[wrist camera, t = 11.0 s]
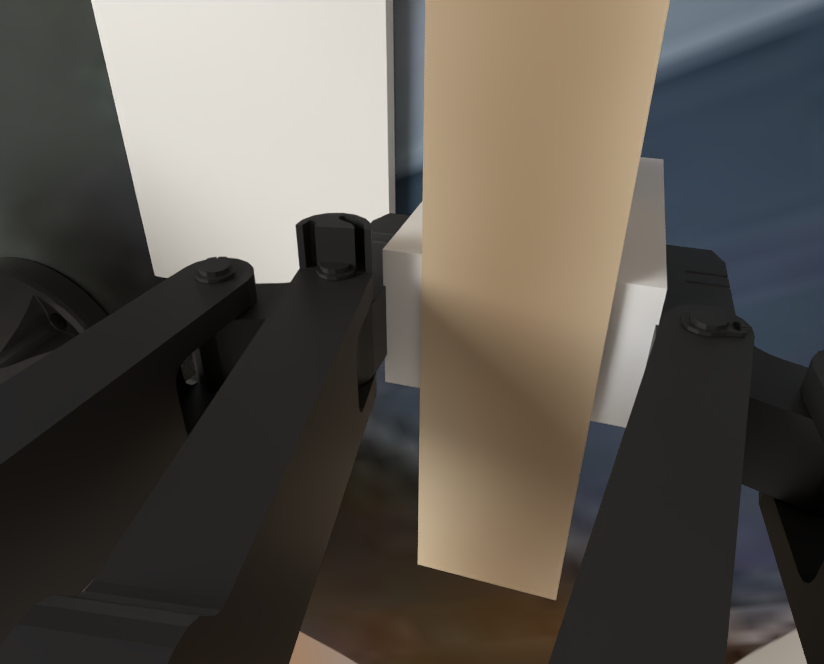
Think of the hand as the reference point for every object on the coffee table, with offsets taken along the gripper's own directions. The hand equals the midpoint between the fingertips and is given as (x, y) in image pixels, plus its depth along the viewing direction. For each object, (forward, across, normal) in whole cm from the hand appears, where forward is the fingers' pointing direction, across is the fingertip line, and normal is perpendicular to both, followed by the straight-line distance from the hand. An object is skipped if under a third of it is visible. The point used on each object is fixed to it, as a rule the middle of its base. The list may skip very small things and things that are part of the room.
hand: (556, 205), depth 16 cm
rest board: (+16, -18, -3) cm, 24 cm away
